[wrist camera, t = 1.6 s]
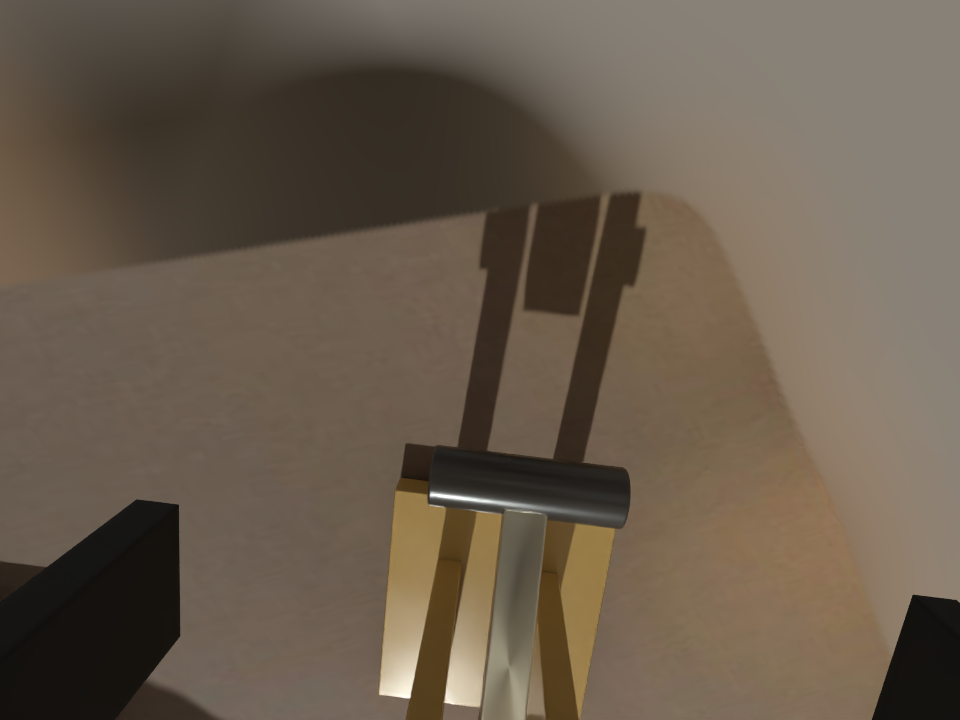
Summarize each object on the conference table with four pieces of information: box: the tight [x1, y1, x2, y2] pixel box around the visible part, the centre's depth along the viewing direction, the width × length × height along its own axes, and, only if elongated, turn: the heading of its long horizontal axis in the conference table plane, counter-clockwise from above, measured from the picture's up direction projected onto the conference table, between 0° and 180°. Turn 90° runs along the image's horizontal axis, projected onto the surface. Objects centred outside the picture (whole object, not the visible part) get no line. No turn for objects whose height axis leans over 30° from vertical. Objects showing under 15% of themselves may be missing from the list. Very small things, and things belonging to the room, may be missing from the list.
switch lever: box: [427, 445, 630, 720], centre depth 15 cm, size 12×5×2 cm, turn 173°
